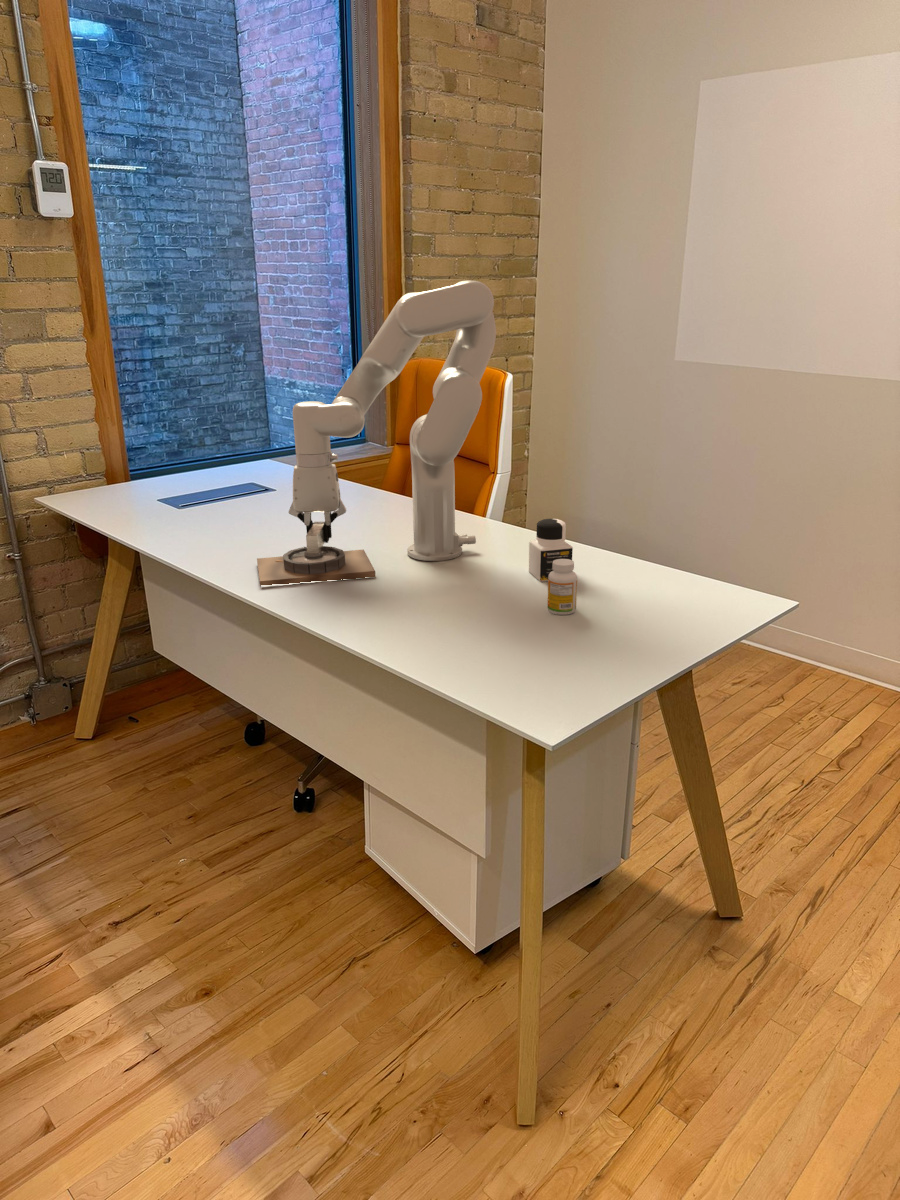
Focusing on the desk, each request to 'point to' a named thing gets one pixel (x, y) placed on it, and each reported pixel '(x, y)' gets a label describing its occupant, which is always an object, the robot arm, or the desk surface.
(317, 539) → the dial
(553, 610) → the supplement bottle
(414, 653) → the desk surface
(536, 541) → the medicine bottle
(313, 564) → the dial base
